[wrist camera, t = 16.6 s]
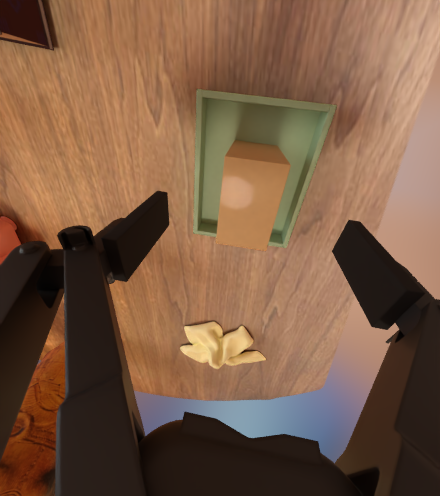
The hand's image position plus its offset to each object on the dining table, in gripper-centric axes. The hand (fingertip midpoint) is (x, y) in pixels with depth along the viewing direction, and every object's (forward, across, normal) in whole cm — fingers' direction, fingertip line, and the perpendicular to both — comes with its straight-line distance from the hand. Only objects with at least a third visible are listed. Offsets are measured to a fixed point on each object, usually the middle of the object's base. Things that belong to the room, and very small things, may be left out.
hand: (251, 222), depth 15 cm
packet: (+13, 0, 0) cm, 13 cm away
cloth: (+13, +1, -41) cm, 43 cm away
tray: (+13, 0, 0) cm, 13 cm away
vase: (+13, -35, -50) cm, 63 cm away
